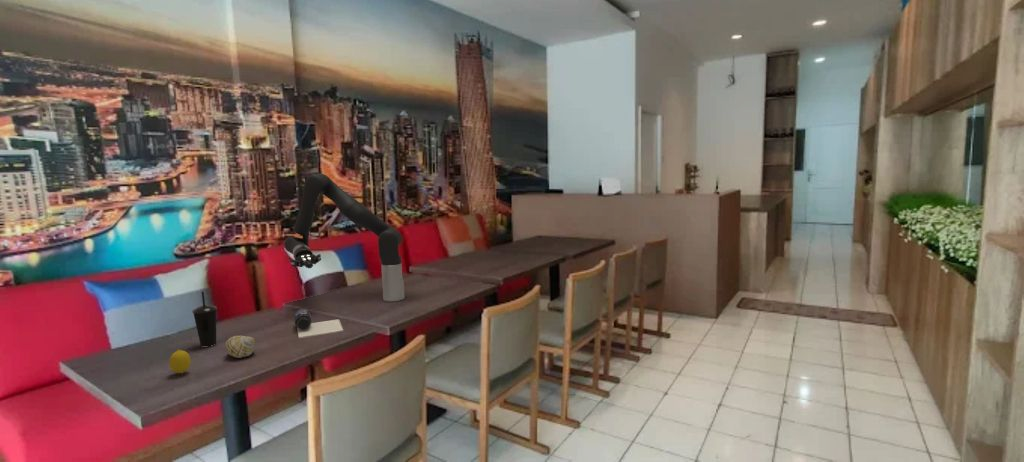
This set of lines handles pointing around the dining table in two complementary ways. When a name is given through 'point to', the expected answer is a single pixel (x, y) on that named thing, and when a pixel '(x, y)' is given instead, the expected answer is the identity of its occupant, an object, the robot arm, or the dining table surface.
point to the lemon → (180, 361)
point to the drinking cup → (206, 323)
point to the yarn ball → (240, 346)
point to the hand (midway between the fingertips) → (309, 266)
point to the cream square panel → (321, 328)
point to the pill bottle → (302, 319)
